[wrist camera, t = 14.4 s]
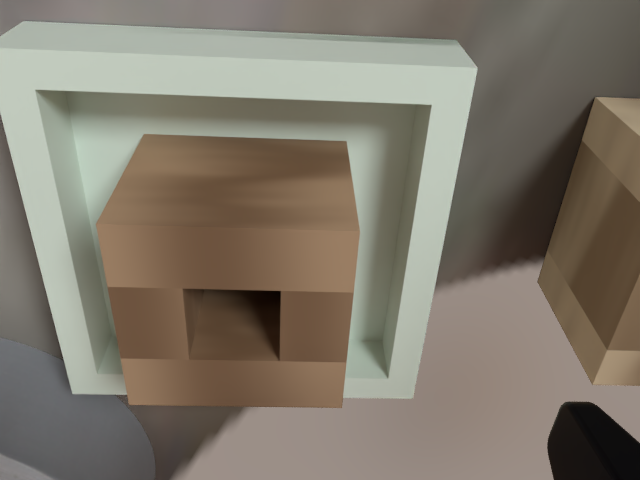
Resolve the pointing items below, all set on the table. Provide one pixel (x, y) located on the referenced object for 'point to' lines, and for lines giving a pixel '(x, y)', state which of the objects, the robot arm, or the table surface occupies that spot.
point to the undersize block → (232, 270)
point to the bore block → (601, 247)
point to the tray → (238, 121)
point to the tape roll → (63, 425)
